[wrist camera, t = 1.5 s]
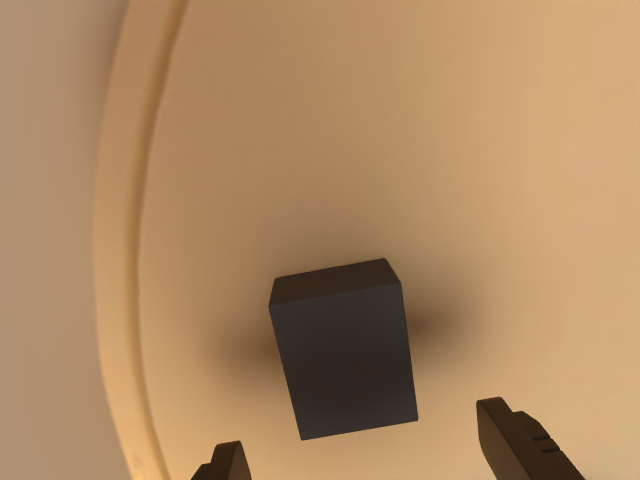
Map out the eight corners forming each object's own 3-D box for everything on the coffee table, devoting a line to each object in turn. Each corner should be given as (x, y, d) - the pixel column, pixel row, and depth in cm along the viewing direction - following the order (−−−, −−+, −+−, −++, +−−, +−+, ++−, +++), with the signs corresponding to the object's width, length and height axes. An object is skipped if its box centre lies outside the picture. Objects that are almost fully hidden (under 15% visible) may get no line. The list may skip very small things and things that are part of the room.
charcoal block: (274, 278, 18) (267, 305, 15) (386, 257, 18) (401, 281, 15) (302, 396, 20) (301, 441, 17) (402, 379, 20) (419, 421, 17)
